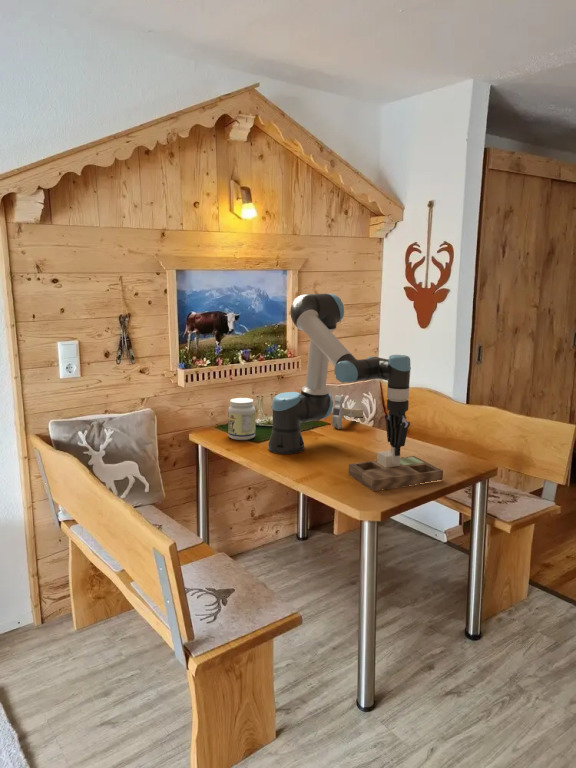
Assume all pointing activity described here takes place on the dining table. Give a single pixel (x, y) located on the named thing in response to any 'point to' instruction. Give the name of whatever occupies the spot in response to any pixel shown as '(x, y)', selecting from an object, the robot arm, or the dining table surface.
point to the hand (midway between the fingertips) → (394, 463)
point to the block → (385, 459)
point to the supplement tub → (241, 419)
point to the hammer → (343, 412)
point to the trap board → (394, 473)
